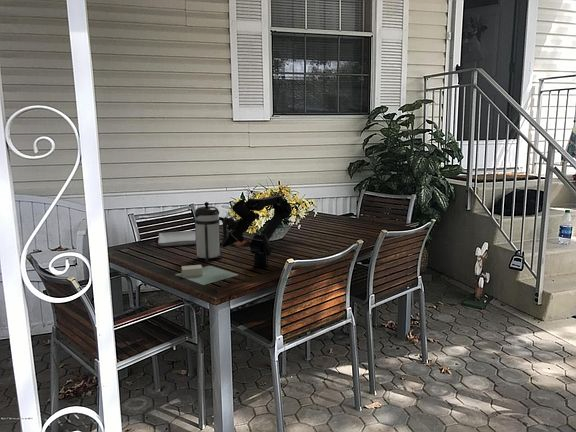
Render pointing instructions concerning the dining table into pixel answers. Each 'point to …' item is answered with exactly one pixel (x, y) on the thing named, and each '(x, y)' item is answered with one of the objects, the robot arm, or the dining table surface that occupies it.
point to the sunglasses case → (239, 244)
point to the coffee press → (208, 232)
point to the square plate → (177, 238)
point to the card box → (192, 270)
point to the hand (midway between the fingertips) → (222, 246)
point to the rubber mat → (210, 275)
